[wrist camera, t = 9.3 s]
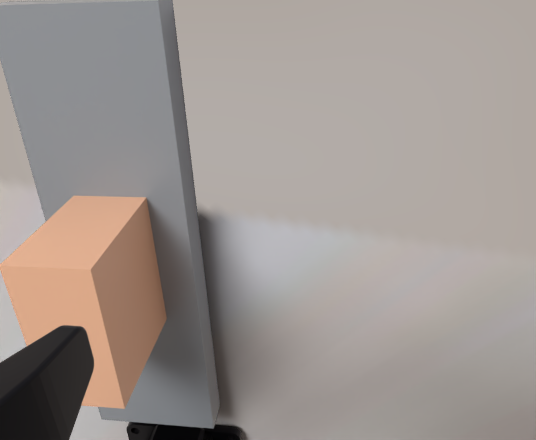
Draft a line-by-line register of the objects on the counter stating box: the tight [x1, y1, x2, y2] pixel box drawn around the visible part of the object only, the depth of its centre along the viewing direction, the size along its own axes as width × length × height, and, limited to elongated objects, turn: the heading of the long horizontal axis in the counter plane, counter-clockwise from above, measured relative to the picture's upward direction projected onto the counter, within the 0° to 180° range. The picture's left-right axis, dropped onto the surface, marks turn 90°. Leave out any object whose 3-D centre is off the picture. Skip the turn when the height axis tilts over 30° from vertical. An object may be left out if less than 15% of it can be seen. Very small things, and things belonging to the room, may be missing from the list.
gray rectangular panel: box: [0, 0, 220, 429], centre depth 20 cm, size 20×6×6 cm, turn 2°
